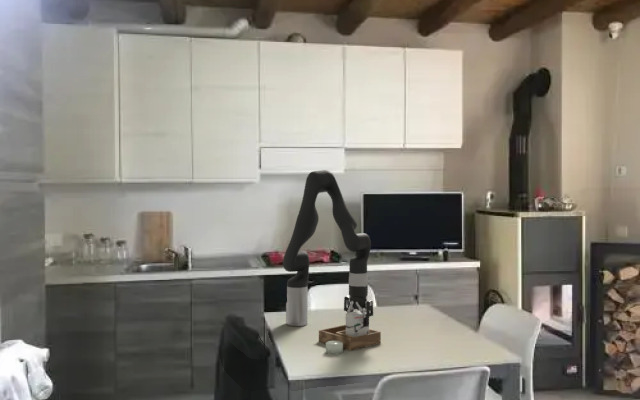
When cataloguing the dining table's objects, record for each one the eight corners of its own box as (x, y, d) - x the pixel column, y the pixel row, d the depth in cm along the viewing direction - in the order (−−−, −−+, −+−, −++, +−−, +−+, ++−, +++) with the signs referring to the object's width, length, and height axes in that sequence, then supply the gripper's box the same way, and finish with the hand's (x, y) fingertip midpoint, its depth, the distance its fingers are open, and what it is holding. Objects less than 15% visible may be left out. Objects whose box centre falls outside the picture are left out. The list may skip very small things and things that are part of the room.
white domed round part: (322, 352, 217) (322, 342, 217) (335, 348, 221) (335, 339, 221) (333, 355, 212) (333, 346, 212) (346, 352, 216) (346, 343, 216)
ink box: (352, 345, 224) (352, 315, 224) (344, 342, 228) (344, 312, 228) (369, 341, 229) (369, 312, 229) (361, 339, 233) (361, 310, 233)
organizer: (318, 341, 231) (318, 330, 231) (349, 334, 242) (349, 323, 242) (349, 351, 218) (349, 339, 218) (380, 343, 229) (380, 331, 229)
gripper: (339, 282, 231) (339, 322, 231) (364, 287, 220) (364, 329, 220) (352, 280, 236) (352, 320, 236) (377, 285, 225) (377, 326, 225)
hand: (358, 324), depth 228 cm, fingers open, 8 cm apart
